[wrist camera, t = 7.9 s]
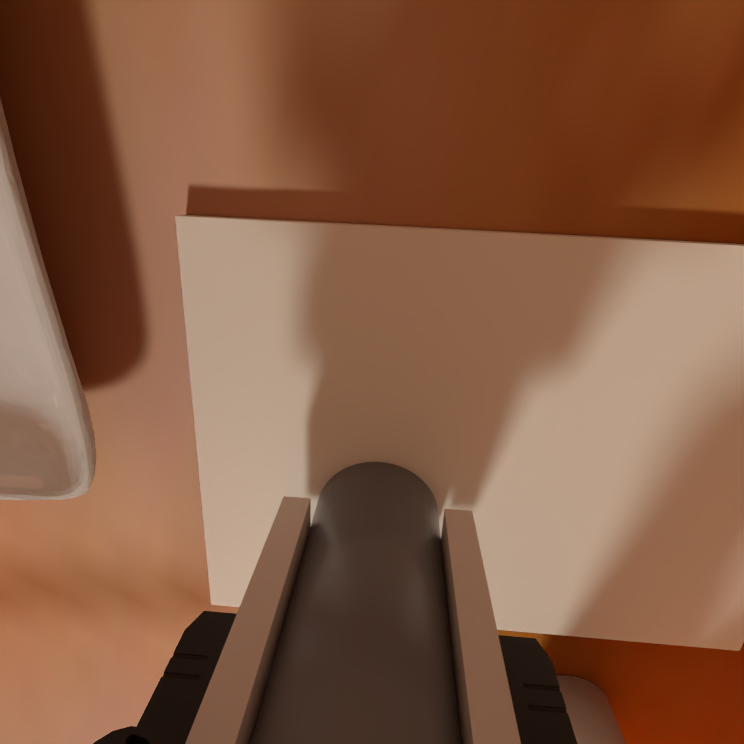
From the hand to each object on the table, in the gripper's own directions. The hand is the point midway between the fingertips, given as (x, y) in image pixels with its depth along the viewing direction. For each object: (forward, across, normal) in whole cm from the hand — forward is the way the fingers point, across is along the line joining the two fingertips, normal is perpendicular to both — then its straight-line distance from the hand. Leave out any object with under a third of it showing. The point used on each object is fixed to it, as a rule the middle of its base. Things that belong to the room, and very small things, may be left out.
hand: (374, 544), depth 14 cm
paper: (+2, -3, -2) cm, 5 cm away
